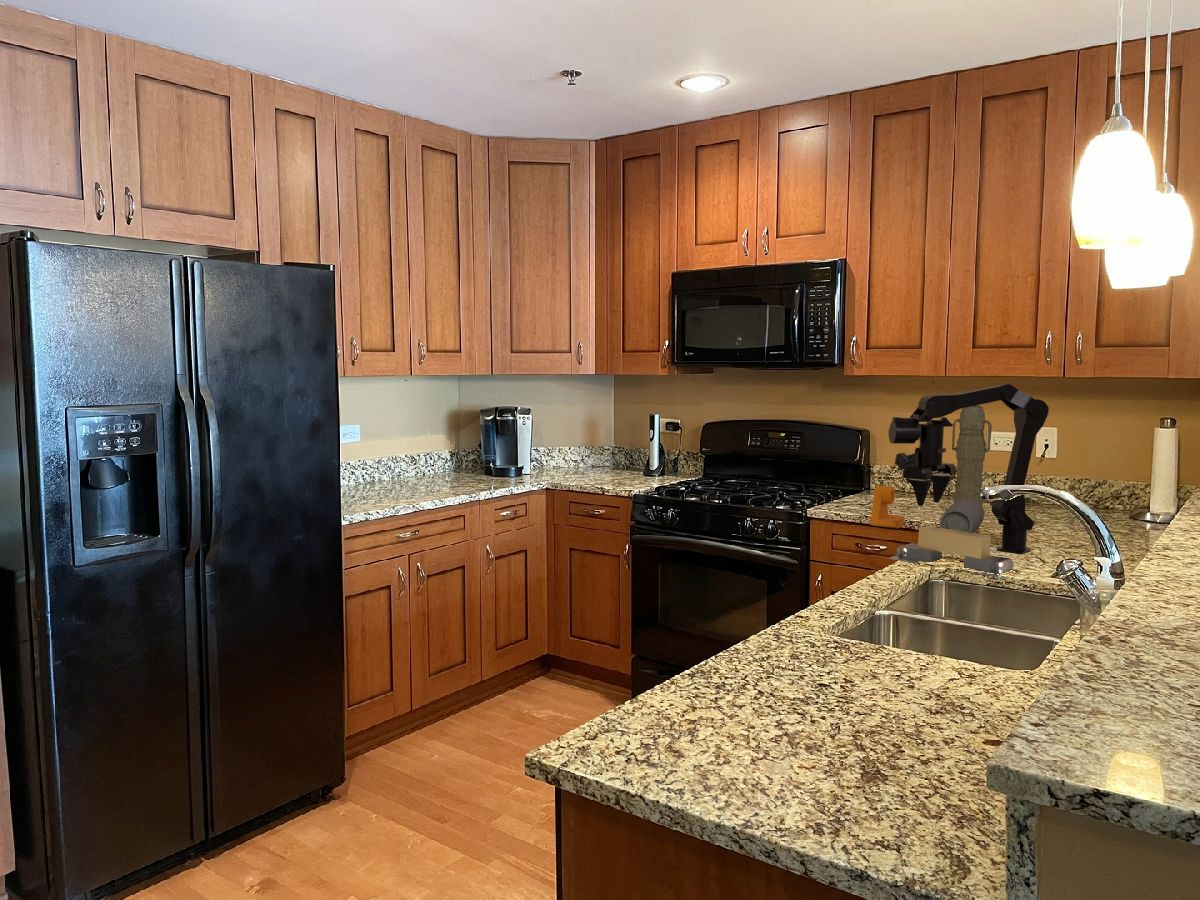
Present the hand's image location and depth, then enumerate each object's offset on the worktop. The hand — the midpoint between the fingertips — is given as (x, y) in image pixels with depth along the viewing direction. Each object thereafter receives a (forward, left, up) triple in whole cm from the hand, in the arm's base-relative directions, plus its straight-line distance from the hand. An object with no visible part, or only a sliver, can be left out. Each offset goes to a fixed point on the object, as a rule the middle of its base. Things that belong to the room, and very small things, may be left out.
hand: (928, 504), depth 229 cm
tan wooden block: (+12, +12, -9) cm, 19 cm away
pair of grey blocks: (+12, +12, -12) cm, 21 cm away
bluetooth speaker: (-24, -1, -12) cm, 27 cm away
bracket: (-26, -24, -12) cm, 37 cm away
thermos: (-72, -19, -12) cm, 75 cm away
